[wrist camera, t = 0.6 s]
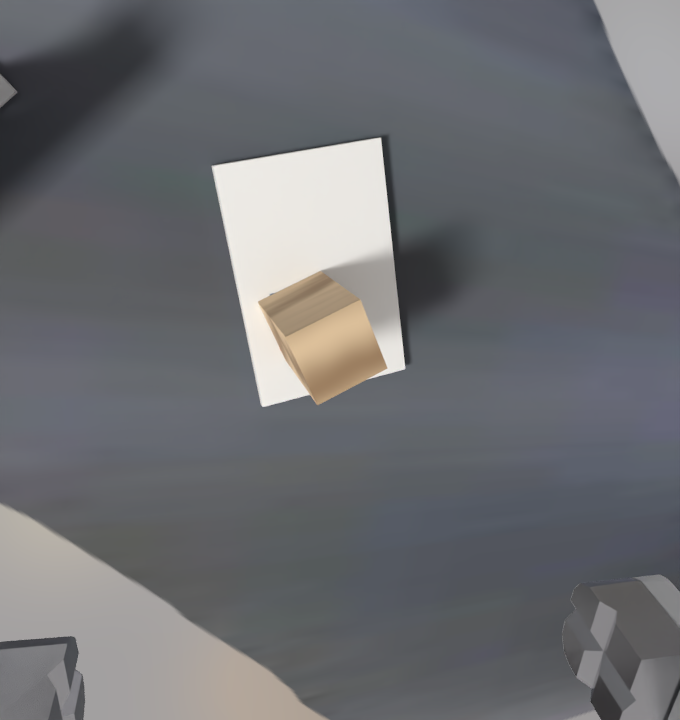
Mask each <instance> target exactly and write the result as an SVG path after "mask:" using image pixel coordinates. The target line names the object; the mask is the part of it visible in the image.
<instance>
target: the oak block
mask: <svg viewBox="0 0 680 720" xmlns="http://www.w3.org/2000/svg"><path fill="white" fill-rule="evenodd" d="M258 304H259V306H260V308H261V310H262V312H263V314H264V316H265V318H266V321H267V323H268V325H269V327H270V329H271V331H272V333H273V335H274V337H275V339H276V341H277V344H278V346H279V348H280V350H281V352H282V354H283V356H284V358H285V360H286V362H287V363H288V365H289V366H290V367H291V369H292V370H293V372H294V373H295V374H296V376H297V377H298V379H299V380H300V381H301V383H302V384H303V386H304V387H305V388H306V390H307V391H308V393H309V394H310V395H311V397H312V398H313V400H314V401H315V402H316V404H317V405H319V404H321V403H323V402H325V401H327V400H328V399H330V398H332V397H334V396H336V395H338V394H340V393H342V392H344V391H346V390H347V389H349V388H351V387H353V386H355V385H357V384H359V383H361V382H363V381H365V380H366V379H368V378H370V377H372V376H374V375H376V374H378V373H380V372H382V371H384V370H386V369H387V365H386V363H385V360H384V358H383V355H382V353H381V350H380V348H379V345H378V343H377V340H376V338H375V335H374V332H373V330H372V327H371V325H370V322H369V320H368V317H367V315H366V312H365V310H364V307H363V305H362V302H361V300H360V299H359V298H358V297H356V296H355V295H354V294H352V293H351V292H349V291H348V290H347V289H345V288H344V287H342V286H341V285H340V284H338V283H337V282H335V281H334V280H333V279H331V278H330V277H328V276H327V275H326V274H324V273H323V272H321V271H319V272H317V273H315V274H313V275H311V276H309V277H307V278H305V279H303V280H301V281H299V282H297V283H295V284H293V285H291V286H289V287H287V288H285V289H283V290H281V291H279V292H277V293H275V294H273V295H270V296H268V297H266V298H264V299H262V300H260V301H258Z"/></svg>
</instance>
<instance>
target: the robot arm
mask: <svg viewBox="0 0 680 720" xmlns="http://www.w3.org/2000/svg"><path fill="white" fill-rule="evenodd" d="M571 602H572V603H573V605H574V606H575V608H576V609H575V610H574V611H573V612H572V613H571V614H570V615H569V616H568V617H567V618H566V619H565V623H564V627H563V632H562V639H563V647H564V652H565V655H566V658H567V661H568V663H569V665H570V667H571V669H572V671H573V672H574V674H575V676H576V678H578V679H579V680H581V681H582V682H584V683H585V684H586V685H588V686H589V687H591V688H592V691H591V701H590V702H591V704H592V705H593V707H594V709H595V710H596V712H597V714H598V715H599V717H600V719H601V720H680V592H679V591H678V590H677V589H676V587H675V586H674V585H673V584H672V583H671V582H670V581H669V580H668V579H667V578H665V577H663V576H662V575H652V576H643V577H634V578H622V579H614V580H605V581H596V582H588V583H580V584H579V585H578V586H577V587H576V588H575V589H574V591H573V594H572V597H571ZM77 658H78V648H77V644H76V639H75V638H74V637H71V636H70V637H57V638H44V639H31V640H18V641H6V642H0V720H83V717H84V704H85V696H84V682H83V676H82V674H81V673H80V672H78V671H77V670H76V669H75V667H76V663H77Z"/></svg>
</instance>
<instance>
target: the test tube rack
mask: <svg viewBox="0 0 680 720" xmlns="http://www.w3.org/2000/svg"><path fill="white" fill-rule="evenodd" d="M16 93H17V91H16V90H15V89H14V88H13V86H12V85H11V84H10V83H9V82H8V81H7V80H6V79H5V78H4V77H3V76H2V75H1V74H0V108H1V107H2V106H3V105H4V104H5V103H6V102H7V101H9V100H10V99H11V98H12V97H13V96H14V95H15V94H16Z"/></svg>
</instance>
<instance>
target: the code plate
mask: <svg viewBox="0 0 680 720" xmlns="http://www.w3.org/2000/svg"><path fill="white" fill-rule="evenodd" d="M212 170H213V175H214V180H215V185H216V190H217V194H218V199H219V204H220V209H221V214H222V219H223V223H224V228H225V233H226V238H227V243H228V248H229V252H230V257H231V262H232V267H233V272H234V277H235V281H236V286H237V291H238V296H239V301H240V306H241V310H242V315H243V320H244V325H245V330H246V335H247V339H248V344H249V349H250V354H251V359H252V364H253V368H254V373H255V378H256V383H257V388H258V393H259V397H260V402H261V405H262V407H265V406H269V405H273V404H276V403H280V402H284V401H288V400H291V399H295V398H299V397H303V396H306V395H310V394H309V393H308V391H307V390H306V388H305V387H304V386H303V384H302V383H301V381H300V380H299V379H298V377H297V376H296V374H295V373H294V372H293V370H292V369H291V367H290V366H289V365H288V363H287V362H286V360H285V358H284V356H283V354H282V352H281V350H280V348H279V346H278V344H277V341H276V339H275V337H274V335H273V333H272V331H271V329H270V327H269V325H268V323H267V321H266V318H265V316H264V314H263V312H262V310H261V308H260V306H259V304H258V301H260V300H262V299H264V298H266V297H268V296H270V295H273V294H275V293H277V292H279V291H281V290H283V289H285V288H287V287H289V286H291V285H293V284H295V283H297V282H299V281H301V280H303V279H305V278H307V277H309V276H311V275H313V274H315V273H317V272H319V271H321V272H323V273H324V274H326V275H327V276H328V277H330V278H331V279H333V280H334V281H335V282H337V283H338V284H340V285H341V286H342V287H344V288H345V289H347V290H348V291H349V292H351V293H352V294H354V295H355V296H356V297H358V298H359V299H360V300H361V302H362V305H363V307H364V310H365V312H366V315H367V317H368V320H369V322H370V325H371V327H372V330H373V332H374V335H375V338H376V340H377V343H378V345H379V348H380V350H381V353H382V355H383V358H384V360H385V363H386V365H387V369H386V370H384V371H382V372H380V373H378V374H376V375H374V376H372V377H370V378H374V377H378V376H381V375H385V374H389V373H393V372H396V371H400V370H404V369H405V362H404V352H403V343H402V333H401V324H400V314H399V305H398V295H397V286H396V276H395V267H394V257H393V248H392V238H391V229H390V219H389V210H388V200H387V190H386V181H385V171H384V162H383V152H382V143H381V138H372V139H366V140H360V141H354V142H348V143H342V144H336V145H330V146H324V147H318V148H312V149H306V150H300V151H295V152H289V153H283V154H277V155H271V156H265V157H259V158H253V159H247V160H241V161H235V162H229V163H223V164H217V165H212ZM370 378H368V379H370Z"/></svg>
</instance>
